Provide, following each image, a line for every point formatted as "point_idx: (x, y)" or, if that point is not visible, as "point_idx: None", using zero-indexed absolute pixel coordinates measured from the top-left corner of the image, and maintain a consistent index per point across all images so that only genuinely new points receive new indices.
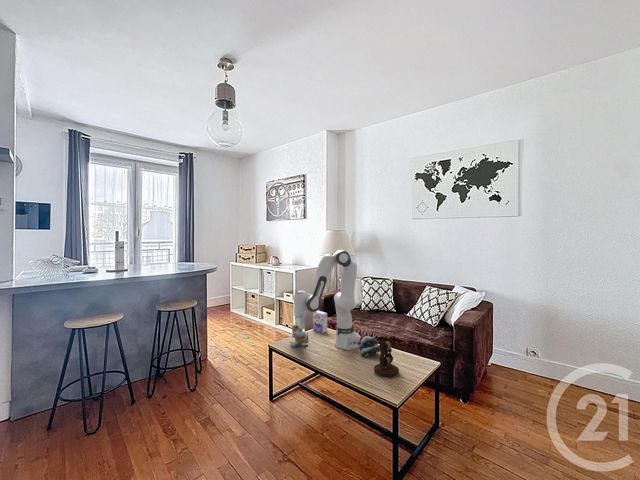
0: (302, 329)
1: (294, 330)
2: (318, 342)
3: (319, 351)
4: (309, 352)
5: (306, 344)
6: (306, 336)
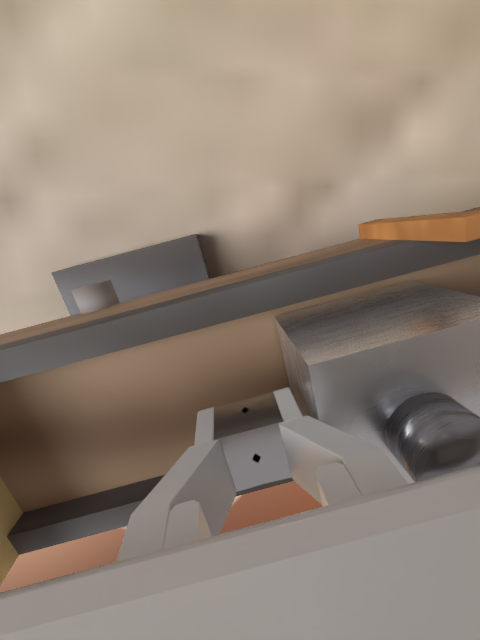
0: (338, 400)
1: (95, 516)
2: (34, 93)
3: (343, 81)
4: (358, 208)
5: (189, 254)
6: (476, 248)
